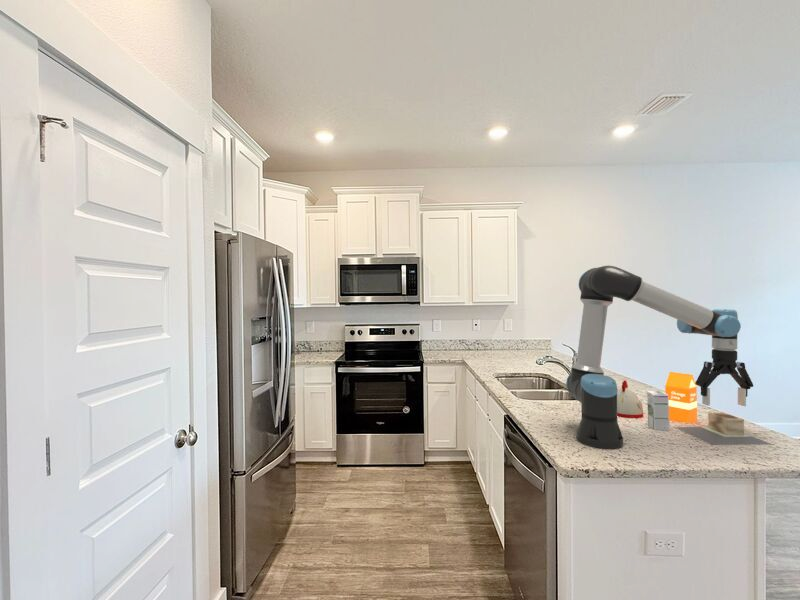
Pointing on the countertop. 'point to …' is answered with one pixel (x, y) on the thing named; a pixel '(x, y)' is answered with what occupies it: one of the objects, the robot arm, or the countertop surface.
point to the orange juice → (682, 397)
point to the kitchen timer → (628, 403)
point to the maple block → (726, 424)
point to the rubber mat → (720, 437)
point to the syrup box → (658, 410)
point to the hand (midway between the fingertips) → (723, 405)
